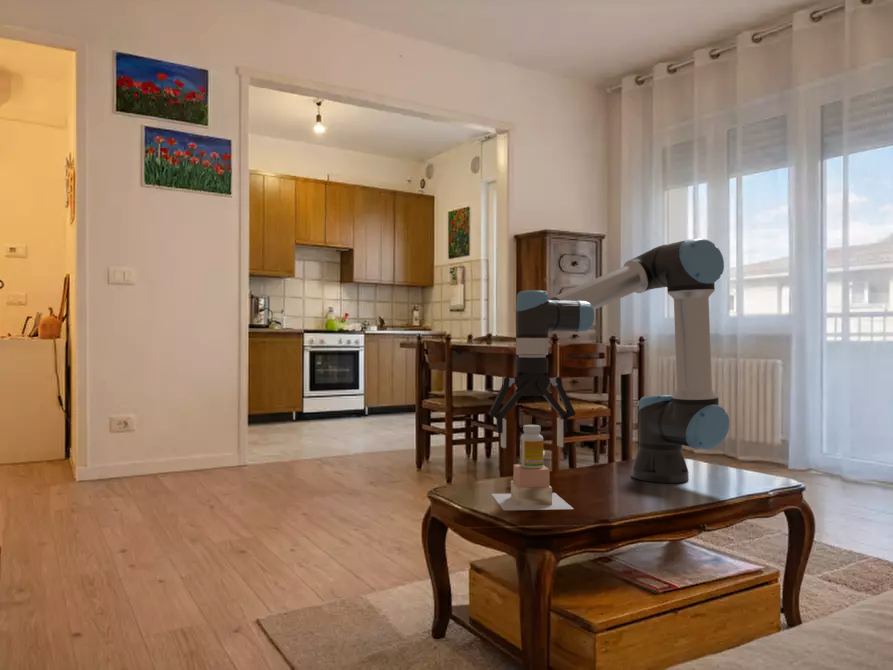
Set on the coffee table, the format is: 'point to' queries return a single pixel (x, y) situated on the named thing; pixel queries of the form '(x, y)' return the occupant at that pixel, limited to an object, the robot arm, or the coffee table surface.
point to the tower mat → (509, 504)
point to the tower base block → (531, 495)
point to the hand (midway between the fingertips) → (531, 446)
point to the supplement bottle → (531, 447)
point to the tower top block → (531, 476)
